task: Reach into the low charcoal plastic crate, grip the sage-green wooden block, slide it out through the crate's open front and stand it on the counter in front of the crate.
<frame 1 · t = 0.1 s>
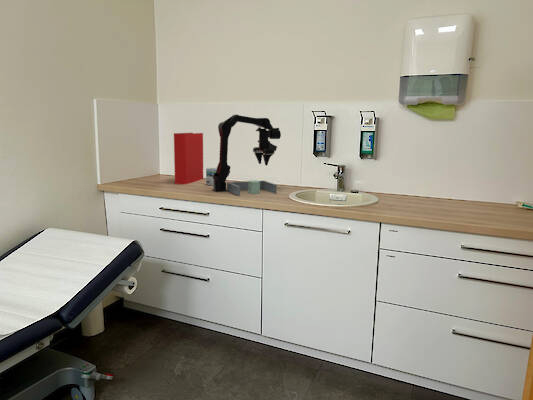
hand: (263, 164, 240), 15 cm above the worktop, fingers open, 9 cm apart
sage block: (253, 193, 225), resting in open-front crate
book: (189, 181, 264), on the worktop
light bulb box: (215, 185, 252), on the worktop
open-front crate: (251, 192, 228), on the worktop
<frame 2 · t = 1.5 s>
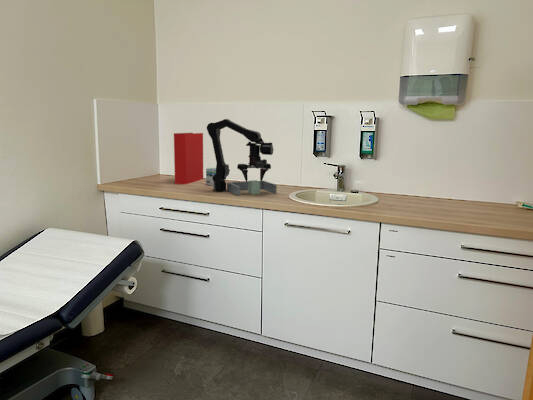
hand: (254, 181, 224), 7 cm above the worktop, fingers open, 9 cm apart
nothing on the worktop moved.
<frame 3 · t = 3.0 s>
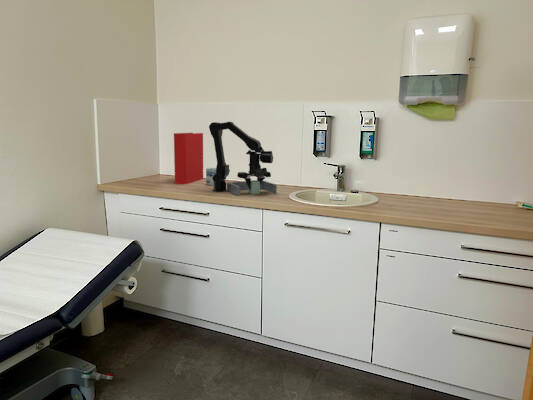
hand: (254, 189, 225), 2 cm above the worktop, fingers closed on sage block, 5 cm apart
sage block: (253, 193, 225), resting in open-front crate, touching gripper
everything else where it was.
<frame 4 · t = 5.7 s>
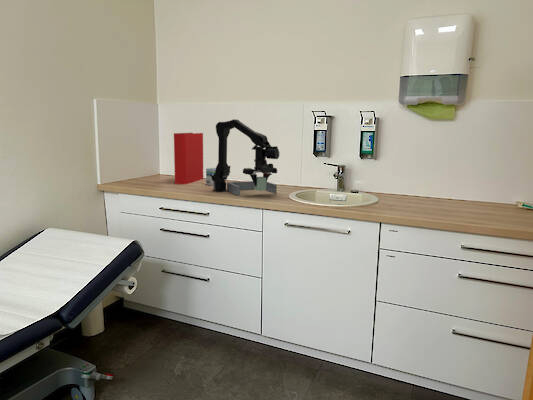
hand: (259, 186, 218), 5 cm above the worktop, fingers closed on sage block, 5 cm apart
sage block: (259, 189, 218), point 3 cm above the worktop, touching gripper
everything else where it was.
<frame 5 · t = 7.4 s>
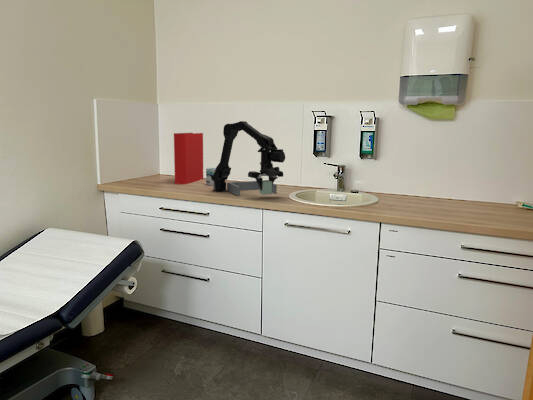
hand: (265, 189, 211), 4 cm above the worktop, fingers closed on sage block, 5 cm apart
sage block: (265, 193, 212), point 2 cm above the worktop, touching gripper
everything else where it was.
when the fingers open (2 cm above the worktop, at t = 8.5 s): sage block stays where it is, on the worktop.
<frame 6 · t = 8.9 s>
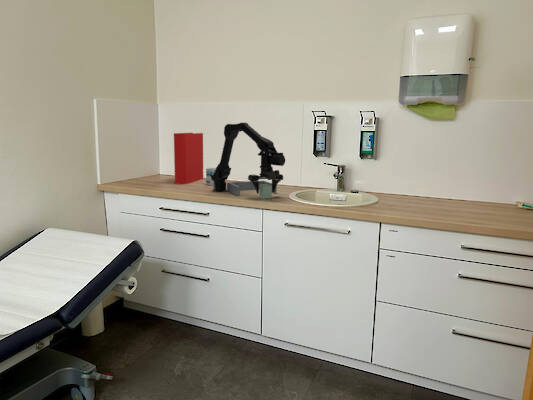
hand: (265, 193, 212), 2 cm above the worktop, fingers open, 9 cm apart
sage block: (265, 197, 212), on the worktop
everything else where it was.
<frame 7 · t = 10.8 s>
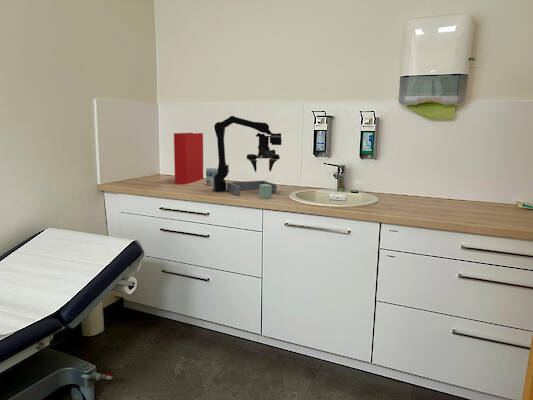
hand: (262, 171, 229), 12 cm above the worktop, fingers open, 9 cm apart
nothing on the worktop moved.
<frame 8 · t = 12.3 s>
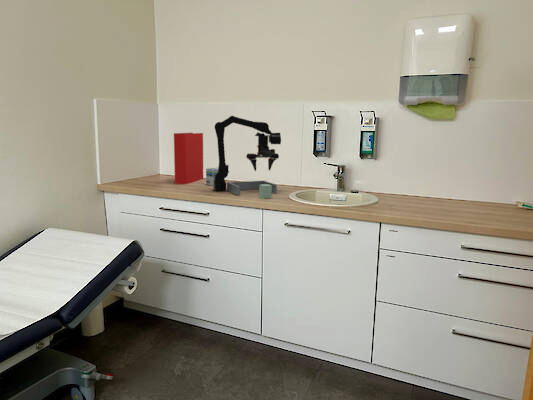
hand: (262, 170, 232), 12 cm above the worktop, fingers open, 9 cm apart
nothing on the worktop moved.
at the end: sage block inside the target area (1.0 cm from its centre), on the worktop; sage block tilted 0°; the gripper is holding nothing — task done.
